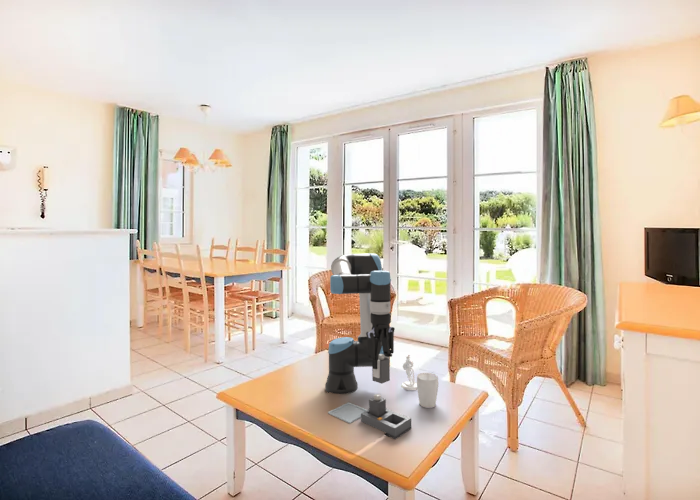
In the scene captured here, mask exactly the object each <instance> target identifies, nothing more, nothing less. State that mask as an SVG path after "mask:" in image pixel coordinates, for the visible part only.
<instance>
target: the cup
mask: <svg viewBox="0 0 700 500" xmlns="http://www.w3.org/2000/svg"><path fill="white" fill-rule="evenodd" d="M416 383H417V395H418V396H417V397H418V401H419V402H418V404H419V405H420V407H422V408H426V409H431V408H435V407H436V405H437V404H436V403H437V396H438V392H439V376H438V375H436V374H435V373H433V372H419V373H418V374H416Z"/></svg>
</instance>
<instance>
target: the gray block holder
mask: <svg viewBox="0 0 700 500" xmlns="http://www.w3.org/2000/svg"><path fill="white" fill-rule="evenodd" d="M386 401H387V400H386V398H383V397H382V395H381V394H379V393H376V394H373V397H372V398H369V400H368V409H367V411H365V412H363V413H361V418H360V422H362V423H364V424H366V425H367V426H370V427H372V428H375V429H377V430H379V431H381V432H384V433H383V435H385V436H387V437H390V438H391V439H393V440H397V439H398V438H400V437H401V436H403V435H404V434H405V433H407V432H409V431H410V430H411V429H412V417H410V416H408V415H405V414H403V413H401V412H397V411H395V410H392V409H390V408H388V407H386V405H387V404H386V403H387V402H386Z"/></svg>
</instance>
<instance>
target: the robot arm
mask: <svg viewBox="0 0 700 500" xmlns="http://www.w3.org/2000/svg"><path fill="white" fill-rule="evenodd" d="M330 271H331V273H332V275H331V276H330V277H329V278H330V279H329V282H330V283H329V285H330V287H329V288H330V293H331V294H332V295H334V294H335V295H352V294H353V295H354V294H358V295H359V296H358V297H359V319H360V320H359V321H360V323H359V324H360V333H359V335H358V336H357V340H355V339H354V338H353V337H349V336H348V337H347V336H345V337H344V336H342V337H338V338H334V339H332V340H331V341H330V342H329V343H328V352H327V353H328V374H327V377H326V381H325V384H324V390H325V392H326V391H327V392H328V393H331V394H334V395H346V394H351V393H353V392H356V391H357V390H358V389H359V387H358V386H359V384H358V382H357V378H356V374H355V369H354V368H361V367H362V368H364V367H365V368H368V367H369V368H370V367H371V368H373V377H376V378H380V360H378V357H379V354H384V358H388V359H390V358H391V357H393V354H394V352H395V351H394V350H395V348H394V347H395V346H394V345H395V343H394V339H395V338H394V335H395V327H393V326H390V324H391V323H392V314H391V313H390V312H391V311H392V310H391V308H392V307H391V300H392V299H391V281H392V278H391V272H390V271H388V270H383V267H382V262H381V258H380V256H379V255H378V254H377V253H370V252H368V253H345V254H342V255H340V256H338V257H336V258H335V259H334V260H333V261H332V262H331V266H330ZM373 377H372V378H373ZM327 392H326V393H327ZM328 393H327V394H328Z"/></svg>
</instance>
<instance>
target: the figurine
mask: <svg viewBox="0 0 700 500" xmlns="http://www.w3.org/2000/svg"><path fill="white" fill-rule="evenodd" d="M410 356H411V355H410V354H407V356H405V357H406V360H405V362H404V363H402V364H403V365H402V369H403V370H405V374H406V376H407V378H408V381H403V382H402V383H401V386H400V387H401V388H402V389H403V390H406V391H416V390H417V381H416V382H415V372H414V369H413V367H414V362H413V361H412V360H410V359H411V357H410ZM417 391H418V390H417Z"/></svg>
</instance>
